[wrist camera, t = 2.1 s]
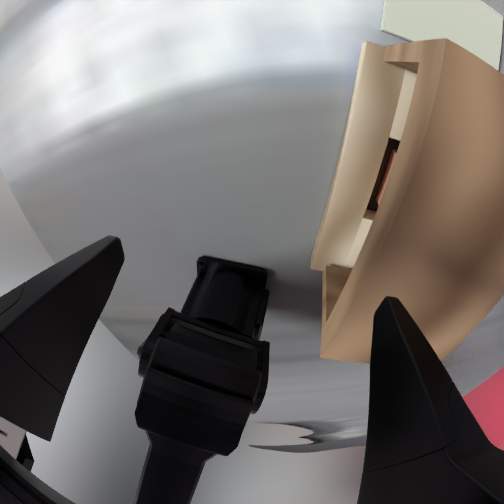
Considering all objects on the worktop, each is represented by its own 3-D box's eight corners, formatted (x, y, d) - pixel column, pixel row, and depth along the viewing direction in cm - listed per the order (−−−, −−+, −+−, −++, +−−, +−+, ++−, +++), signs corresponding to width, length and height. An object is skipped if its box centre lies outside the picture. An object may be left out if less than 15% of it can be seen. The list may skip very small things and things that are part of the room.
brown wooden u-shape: (322, 274, 21) (320, 357, 15) (385, 46, 10) (446, 38, 4) (417, 292, 20) (434, 367, 15) (502, 106, 9) (577, 148, 4)
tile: (380, 30, 11) (382, 29, 10) (387, -43, 6) (389, -46, 6) (490, 85, 10) (495, 86, 9) (498, 16, 6) (502, 16, 5)
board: (310, 256, 23) (310, 268, 21) (362, 43, 11) (367, 41, 10) (453, 286, 21) (458, 297, 20) (529, 131, 10) (539, 138, 9)
